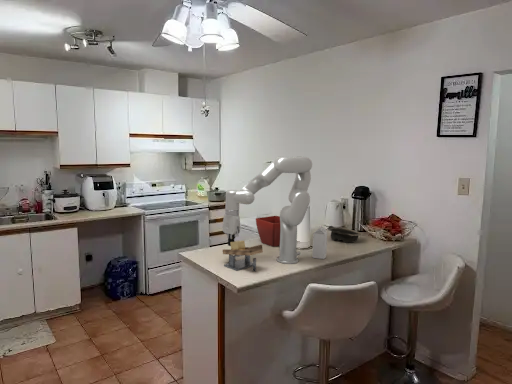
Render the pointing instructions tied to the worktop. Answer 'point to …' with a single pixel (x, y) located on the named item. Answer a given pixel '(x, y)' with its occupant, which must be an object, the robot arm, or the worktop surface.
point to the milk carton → (319, 243)
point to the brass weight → (237, 245)
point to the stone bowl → (344, 234)
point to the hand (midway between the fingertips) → (231, 245)
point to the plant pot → (269, 230)
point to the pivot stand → (240, 263)
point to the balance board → (245, 251)
